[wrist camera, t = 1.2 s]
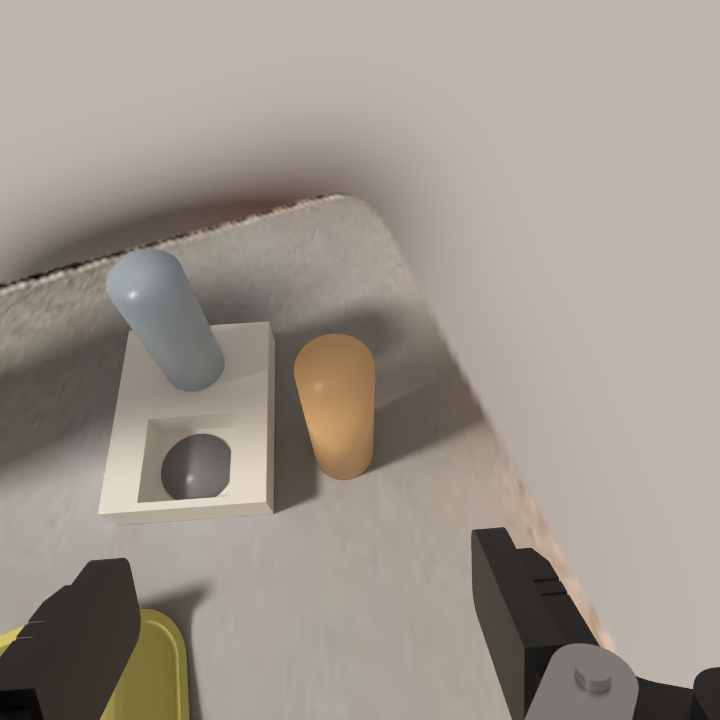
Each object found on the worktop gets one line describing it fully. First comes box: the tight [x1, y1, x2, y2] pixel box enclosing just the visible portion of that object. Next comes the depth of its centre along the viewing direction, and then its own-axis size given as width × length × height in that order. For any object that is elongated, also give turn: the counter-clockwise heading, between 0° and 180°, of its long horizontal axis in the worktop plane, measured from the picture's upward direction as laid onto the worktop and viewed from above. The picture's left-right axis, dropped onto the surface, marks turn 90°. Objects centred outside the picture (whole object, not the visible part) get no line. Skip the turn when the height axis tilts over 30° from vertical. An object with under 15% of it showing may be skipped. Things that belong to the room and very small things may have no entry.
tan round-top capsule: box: [294, 334, 375, 480], centre depth 31 cm, size 4×4×12 cm
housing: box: [98, 249, 275, 525], centre depth 32 cm, size 13×10×13 cm
